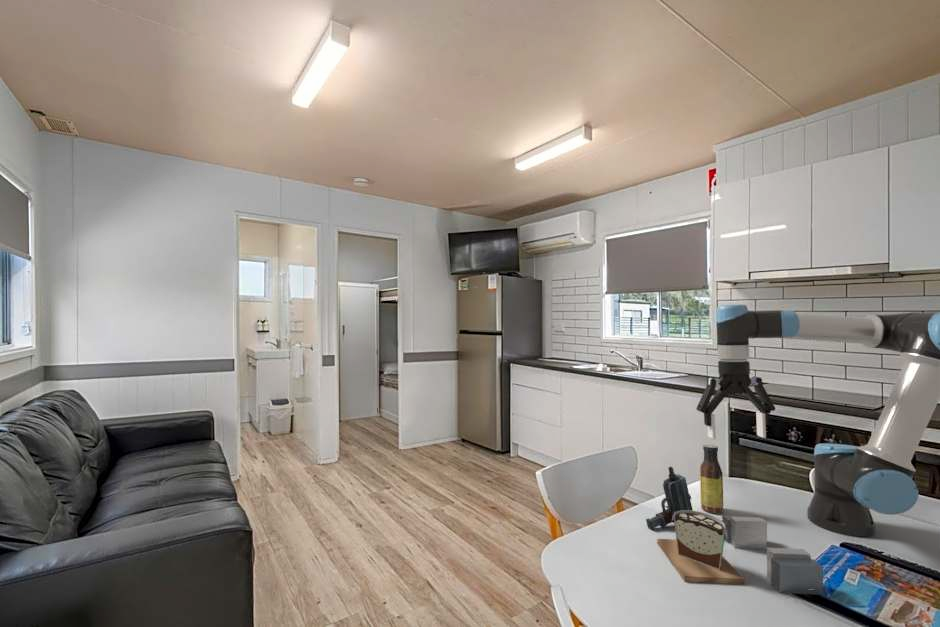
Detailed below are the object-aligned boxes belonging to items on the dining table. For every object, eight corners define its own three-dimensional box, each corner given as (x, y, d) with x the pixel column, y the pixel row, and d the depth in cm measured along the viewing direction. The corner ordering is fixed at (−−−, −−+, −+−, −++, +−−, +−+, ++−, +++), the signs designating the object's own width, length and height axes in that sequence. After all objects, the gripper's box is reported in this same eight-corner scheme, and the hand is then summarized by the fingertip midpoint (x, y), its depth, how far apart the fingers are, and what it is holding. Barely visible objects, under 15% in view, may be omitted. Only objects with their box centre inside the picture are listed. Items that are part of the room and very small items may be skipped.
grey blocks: (748, 531, 123) (748, 506, 123) (823, 594, 95) (823, 562, 95) (715, 530, 124) (714, 505, 124) (779, 592, 95) (779, 560, 95)
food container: (734, 563, 105) (734, 520, 105) (726, 573, 101) (726, 529, 101) (681, 543, 114) (681, 505, 114) (671, 552, 109) (671, 512, 110)
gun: (635, 479, 125) (677, 461, 129) (648, 535, 126) (690, 515, 130) (641, 482, 122) (684, 464, 126) (654, 539, 123) (697, 519, 127)
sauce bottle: (727, 514, 134) (727, 449, 134) (707, 514, 134) (707, 449, 134) (715, 505, 140) (715, 443, 141) (696, 505, 140) (696, 443, 141)
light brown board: (707, 545, 115) (707, 540, 115) (744, 584, 98) (744, 578, 98) (657, 543, 116) (657, 538, 116) (684, 581, 99) (684, 576, 99)
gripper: (770, 357, 125) (773, 432, 125) (681, 360, 126) (684, 434, 125) (788, 360, 118) (792, 439, 117) (694, 362, 118) (697, 441, 118)
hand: (736, 437), depth 121 cm, fingers open, 13 cm apart
